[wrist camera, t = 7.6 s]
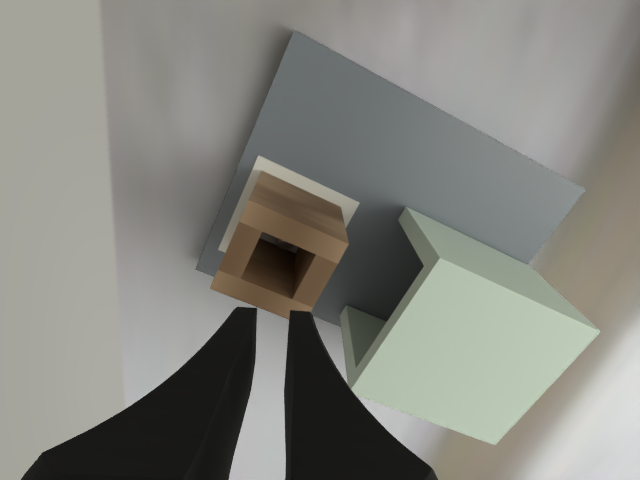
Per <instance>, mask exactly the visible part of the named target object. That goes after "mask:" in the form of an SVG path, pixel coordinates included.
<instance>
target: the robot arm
mask: <svg viewBox="0 0 640 480" xmlns="http://www.w3.org/2000/svg"><path fill="white" fill-rule="evenodd" d="M256 322H257V308H247V307H237V308H235V309H234V310H233V311H232V313H231V314H230V315H229V317H228V318H227V319H226V321H225V322H224V323H223V324H222V326H221V327H220V328H219V329H218V330H217V331H216V333H215V334H214V335H213V336H212V337H211V338H210V339H209V340H208V341H207V342H206V344H205V345H204V346H203V347H202V348H201V349H200V350H199V351H198V352H197V353H196V354H195V355H194V356H193V357H192V358H191V359H190V360H189V361H187V362H186V363H185V364H184V365H183V366H182V367H181V368H180V369H179V370H178V371H176V372H175V373H174V374H173V375H172V376H171V377H169V378H168V379H167V380H166V381H164V382H163V383H162V384H161V385H159V386H158V387H157V388H155V389H154V390H153V391H151V392H150V393H148V394H147V395H146V396H144V397H143V398H141V399H140V400H138V401H137V402H135V403H134V404H133V405H131V406H130V407H128V408H126V409H125V410H123V411H122V412H120V413H118V414H117V415H115V416H113V417H111V418H110V419H108V420H106V421H104V422H103V423H101V424H99V425H97V426H95V427H94V428H92V429H90V430H88V431H86V432H84V433H82V434H80V435H78V436H76V437H74V438H72V439H70V440H68V441H66V442H64V443H62V444H60V445H58V446H55V447H53V448H51V449H49V450H47V451H45V452H43V453H42V454H41V455H40V456H39V458H38V459H37V460H36V461H35V462H34V464H33V465H32V466H31V467H30V468H29V470H28V471H27V472H26V473H25V475H24V476H23V477H22V479H21V480H229V474H230V469H231V465H232V460H233V456H234V452H235V448H236V445H237V441H238V437H239V433H240V429H241V426H242V422H243V418H244V414H245V411H246V407H247V403H248V399H249V395H250V391H251V386H252V380H253V373H254V366H255V354H256ZM284 403H285V443H286V478H285V480H438V479H437V476H436V474H435V472H434V470H433V469H432V468H431V467H430V466H429V465H428V464H426V463H425V462H424V461H423V460H421V459H420V458H419V457H417V456H416V455H415V454H414V453H412V452H411V451H410V450H409V449H407V448H406V447H405V446H404V445H402V444H401V443H400V442H399V441H398V440H397V439H396V438H395V437H393V436H392V435H391V434H390V433H389V432H388V431H387V430H386V429H385V428H384V427H383V426H382V425H381V424H380V423H379V422H378V421H377V419H376V418H375V417H374V416H373V415H372V414H371V413H370V412H369V411H368V410H367V409H366V408H365V406H364V405H363V404H362V403H361V401H360V400H359V399H358V398H357V397H356V395H355V394H354V393H353V391H352V390H351V389H350V387H349V386H348V384H347V383H346V382H345V380H344V379H343V377H342V376H341V374H340V372H339V371H338V369H337V368H336V366H335V364H334V363H333V361H332V359H331V357H330V355H329V354H328V352H327V350H326V348H325V346H324V344H323V342H322V340H321V337H320V335H319V333H318V330H317V328H316V325H315V322H314V319H313V315H312V314H311V312H310V311H295V310H290V317H289V331H288V345H287V359H286V373H285V387H284Z"/></svg>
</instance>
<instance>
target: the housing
mask: <svg viewBox="0 0 640 480" xmlns="http://www.w3.org/2000/svg"><path fill="white" fill-rule="evenodd" d="M398 221H399V222H400V224H401V226H402V228H403V230H404V231H405V233H406V235H407V237H408V239H409V240H410V242H411V244H412V246H413V247H414V249H415V251H416V253H417V255H418V256H419V258H420V260H421V262H422V263H423V265H424V267H423V268H422V270H421V271H420V273H419V274H418V276H417V277H416V279H415V280H414V282H413V283H412V285H411V286H410V288H409V289H408V291H407V292H406V294H405V295H404V297H403V298H402V300H401V301H400V303H399V304H398V306H397V307H396V309H395V310H394V312H393V313H392V315H391V317H390V318H389V320H388V321H384V320H382V319H379V318H377V317H374V316H372V315H369V314H367V313H365V312H362V311H360V310H357V309H355V308H352V307H350V306H347V305H346V306H345V308H344V309H343V311H342V313H341V314H340V322H341V330H342V338H343V347H344V355H345V364H346V372H347V381H348V386H349V387H350V389H351V390H352V391H353V393H354V394H355V395H357V396H360V397H363V398H365V399H368V400H371V401H374V402H376V403H379V404H382V405H385V406H388V407H390V408H393V409H396V410H399V411H401V412H404V413H407V414H410V415H413V416H415V417H418V418H421V419H424V420H426V421H429V422H432V423H435V424H438V425H440V426H443V427H446V428H449V429H451V430H454V431H457V432H460V433H462V434H465V435H468V436H471V437H474V438H476V439H479V440H482V441H485V442H487V443H490V444H493V445H496V444H497V442H498V441H499V440H500V439H501V438H502V437H503V436H504V435H505V434H506V433H507V432H508V431H509V430H510V428H511V427H512V426H513V425H514V424H515V423H516V422H517V421H518V420H519V419H520V418H521V417H522V416H523V414H524V413H525V412H526V411H527V410H528V409H529V408H530V407H531V406H532V405H533V404H534V403H535V402H536V401H537V399H538V398H539V397H540V396H541V395H542V394H543V393H544V392H545V391H546V390H547V389H548V388H549V387H550V385H551V384H552V383H553V382H554V381H555V380H556V379H557V378H558V377H559V376H560V375H561V374H562V373H563V371H564V370H565V369H566V368H567V367H568V366H569V365H570V364H571V363H572V362H573V361H574V360H575V359H576V357H577V356H578V355H579V354H580V353H581V352H582V351H583V350H584V349H585V348H586V347H587V346H588V345H589V344H590V342H591V341H592V340H593V339H594V338H595V337H596V336H597V335H598V334H599V333H600V332H601V331H599V330H598V329H597V328H596V327H595V326H594V325H593V324H592V323H591V322H590V321H589V320H588V319H586V318H585V317H584V316H583V315H582V314H581V313H580V312H579V311H578V310H577V309H576V308H575V307H573V306H572V305H571V304H570V303H569V302H568V301H567V300H566V299H565V298H564V297H563V296H562V295H560V294H559V293H558V292H557V291H556V290H555V289H554V288H553V287H552V286H551V285H550V284H549V283H547V282H546V281H545V280H544V279H543V278H542V277H541V276H540V275H539V274H538V273H537V272H536V271H535V270H533V269H532V268H531V267H530V266H529V265H527V264H525V263H523V262H520V261H518V260H516V259H514V258H512V257H510V256H508V255H506V254H504V253H502V252H500V251H498V250H495V249H493V248H491V247H489V246H487V245H485V244H483V243H481V242H479V241H477V240H475V239H473V238H470V237H468V236H466V235H464V234H462V233H460V232H458V231H456V230H454V229H452V228H450V227H448V226H445V225H443V224H441V223H439V222H437V221H435V220H433V219H431V218H429V217H427V216H425V215H423V214H421V213H418V212H416V211H414V210H412V209H410V208H408V207H405V209H404V210H403V212H402V214H401V215H400V217H399V219H398Z"/></svg>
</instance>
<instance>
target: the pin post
mask: <svg viewBox="0 0 640 480" xmlns="http://www.w3.org/2000/svg"><path fill="white" fill-rule="evenodd" d="M275 242H276V245H277V246H278V247H279V248H281V249H290V248H292V247H293V246H294V245H293V244H290V243H288V242H286V241H283V240H281V239H279V238H276V237H275Z"/></svg>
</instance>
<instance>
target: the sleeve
mask: <svg viewBox="0 0 640 480" xmlns="http://www.w3.org/2000/svg"><path fill="white" fill-rule="evenodd" d="M262 232H265V233H267V234H269V235H272V236H274V237H276V238H279V239H281V240H283V241H286V242H288V243H290V244H293V245H295V246H297V247H299V248H298V250H297V252H296V253H294V252H292V251H289V250H287V249H281V248H279V247H278V246H277V245H275V244H273V243H270V242H268V241H266V240H263V239H261V238H260V236H261V234H262ZM348 245H349V242H348V237H347V233H346V228H345V223H344V219H343V214H342V209H341V207H340V206H338V205H336V204H333V203H331V202H329V201H327V200H325V199H323V198H320V197H318V196H316V195H314V194H312V193H310V192H307V191H305V190H303V189H301V188H299V187H297V186H294V185H292V184H290V183H288V182H286V181H284V180H281V179H279V178H277V177H275V176H273V175H271V174H268V173H266V172H264V171H261V173H260V175H259V177H258V180H257V182H256V184H255V186H254V189H253V191H252V193H251V195H250V198H249V200H248V202H247V204H246V207H245V209H244V211H243V214H242V216H241V218H240V220H239V223H238V225H237V227H236V230H235V232H234V234H233V236H232V239H231V241H230V243H229V246H228V248H227V250H226V252H225V255H224V257H223V259H222V262H221V264H220V266H219V268H218V271H217V273H216V275H215V278H214V280H213V282H212V285H211V287H210V289H212V290H215V291H217V292H220V293H222V294H225V295H228V296H230V297H233V298H235V299H238V300H241V301H243V302H246V303H248V304H251V305H253V306H256V307H259V308H261V309H264V310H266V311H269V312H271V313H274V314H277V315H279V316H282V317H284V318H287V319H289V317H290V310H295V311H310V312H311V310H312V309H313V307H314V305H315V303H316V302H317V300H318V298H319V296H320V294H321V293H322V291H323V289H324V287H325V286H326V284H327V282H328V280H329V279H330V277H331V275H332V273H333V272H334V270H335V268H336V266H337V264H338V263H339V261H340V259H341V257H342V256H343V254H344V252H345V250H346V249H347V247H348Z"/></svg>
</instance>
